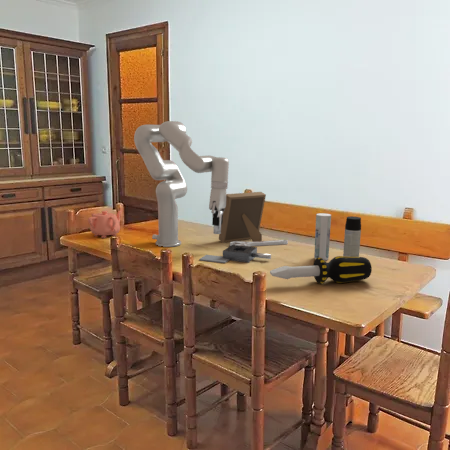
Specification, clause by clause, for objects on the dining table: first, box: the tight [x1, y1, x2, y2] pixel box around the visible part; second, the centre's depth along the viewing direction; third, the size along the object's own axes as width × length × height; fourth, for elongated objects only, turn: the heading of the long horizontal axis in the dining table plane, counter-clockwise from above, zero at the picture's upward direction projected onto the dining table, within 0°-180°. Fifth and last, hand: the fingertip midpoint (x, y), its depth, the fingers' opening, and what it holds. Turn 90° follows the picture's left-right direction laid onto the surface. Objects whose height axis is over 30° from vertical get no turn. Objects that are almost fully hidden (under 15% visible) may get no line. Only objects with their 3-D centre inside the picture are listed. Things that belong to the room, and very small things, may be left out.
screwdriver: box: [269, 255, 373, 285], centre depth 174 cm, size 39×10×10 cm, turn 103°
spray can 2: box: [313, 212, 332, 261], centre depth 208 cm, size 6×6×20 cm
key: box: [212, 208, 225, 235], centre depth 216 cm, size 6×3×12 cm, turn 69°
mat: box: [198, 254, 230, 264], centre depth 206 cm, size 12×8×1 cm, turn 69°
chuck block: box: [222, 245, 272, 263], centre depth 208 cm, size 20×12×4 cm, turn 69°
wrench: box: [229, 239, 288, 247], centre depth 232 cm, size 8×2×30 cm
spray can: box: [342, 216, 362, 257], centre depth 201 cm, size 7×7×20 cm
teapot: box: [87, 209, 124, 239], centre depth 249 cm, size 16×17×14 cm
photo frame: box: [218, 191, 267, 244], centre depth 237 cm, size 15×22×25 cm
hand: (217, 224), depth 216 cm, fingers closed on key, 3 cm apart
